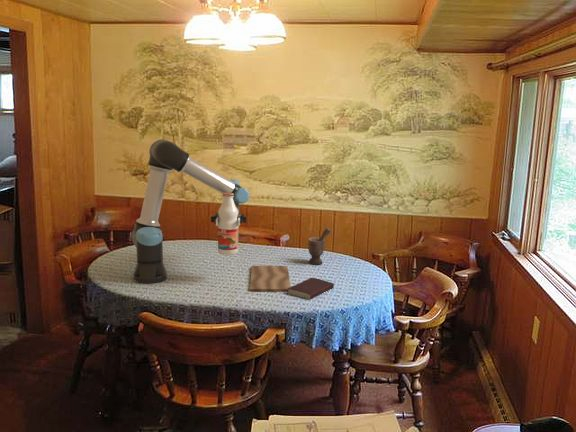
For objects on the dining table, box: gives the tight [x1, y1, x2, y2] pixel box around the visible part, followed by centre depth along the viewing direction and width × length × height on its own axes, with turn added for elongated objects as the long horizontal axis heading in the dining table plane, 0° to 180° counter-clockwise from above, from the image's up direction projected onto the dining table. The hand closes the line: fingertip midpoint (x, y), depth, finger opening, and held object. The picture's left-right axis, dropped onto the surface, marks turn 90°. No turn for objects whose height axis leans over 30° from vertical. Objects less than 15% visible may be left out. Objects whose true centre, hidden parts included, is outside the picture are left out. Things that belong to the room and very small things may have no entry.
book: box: [287, 277, 335, 300], centre depth 238 cm, size 12×19×3 cm, turn 144°
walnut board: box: [249, 265, 292, 293], centre depth 253 cm, size 18×36×1 cm, turn 3°
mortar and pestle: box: [307, 227, 332, 266], centre depth 279 cm, size 12×9×20 cm
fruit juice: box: [217, 193, 239, 256], centre depth 246 cm, size 9×9×28 cm
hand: (227, 223), depth 242 cm, fingers closed on fruit juice, 9 cm apart
